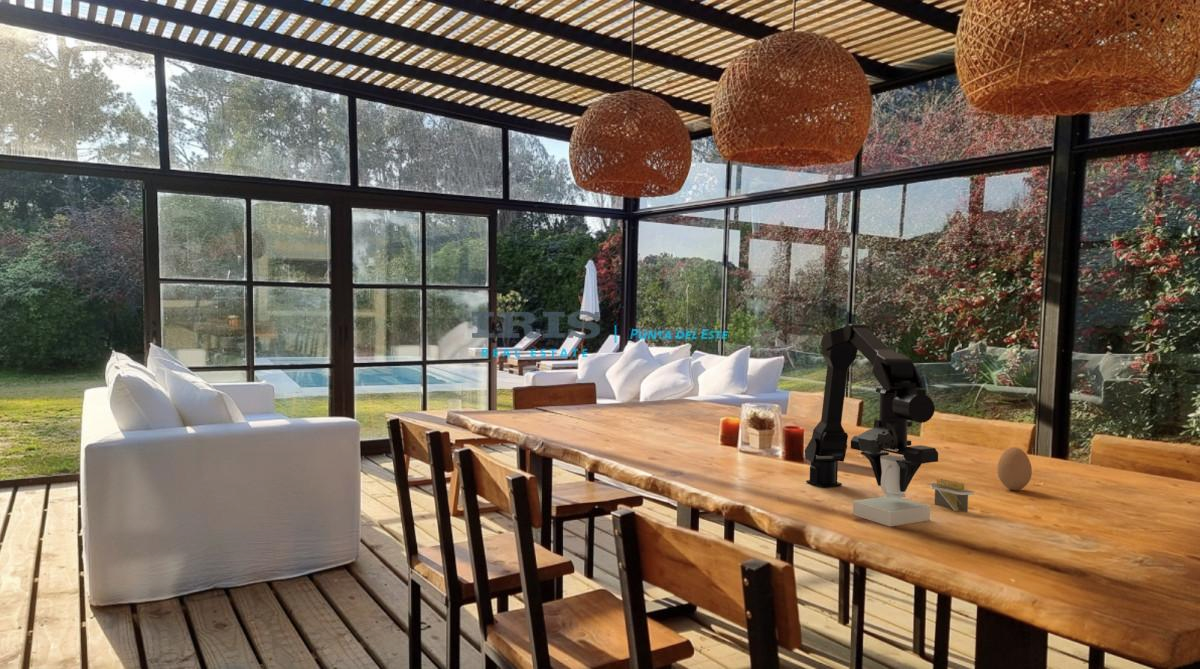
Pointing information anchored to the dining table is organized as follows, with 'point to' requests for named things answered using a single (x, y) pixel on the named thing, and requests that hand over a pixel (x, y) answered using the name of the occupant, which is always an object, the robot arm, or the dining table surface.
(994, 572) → the dining table surface
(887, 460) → the cup
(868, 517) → the slab
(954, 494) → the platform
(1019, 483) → the egg
